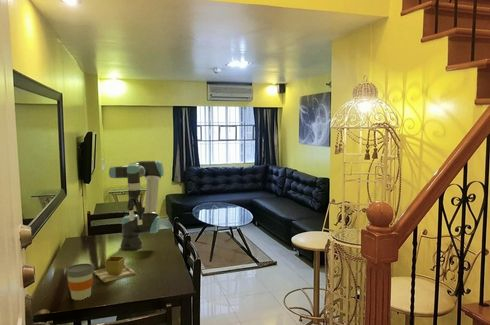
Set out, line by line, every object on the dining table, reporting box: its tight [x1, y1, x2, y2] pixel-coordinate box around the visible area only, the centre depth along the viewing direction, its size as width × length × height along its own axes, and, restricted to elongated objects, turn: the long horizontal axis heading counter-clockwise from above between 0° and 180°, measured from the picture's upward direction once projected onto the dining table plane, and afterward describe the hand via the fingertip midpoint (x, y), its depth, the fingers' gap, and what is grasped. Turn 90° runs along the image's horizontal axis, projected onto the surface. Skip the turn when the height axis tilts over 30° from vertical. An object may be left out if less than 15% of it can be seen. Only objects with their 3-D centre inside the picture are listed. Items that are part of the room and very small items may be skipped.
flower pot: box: [104, 255, 125, 275], centre depth 224 cm, size 9×9×9 cm
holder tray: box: [93, 264, 136, 283], centre depth 225 cm, size 18×18×2 cm
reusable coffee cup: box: [66, 263, 94, 301], centre depth 195 cm, size 13×12×15 cm
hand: (135, 222), depth 243 cm, fingers open, 13 cm apart
